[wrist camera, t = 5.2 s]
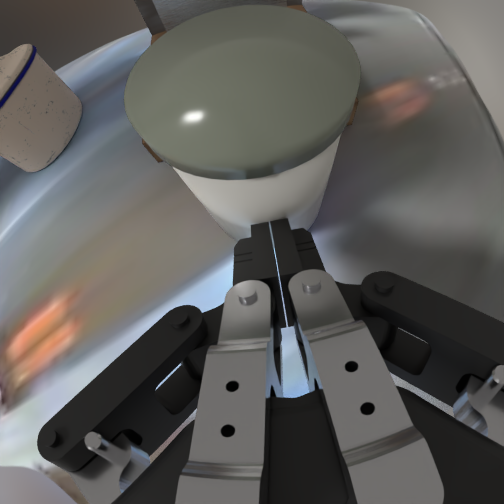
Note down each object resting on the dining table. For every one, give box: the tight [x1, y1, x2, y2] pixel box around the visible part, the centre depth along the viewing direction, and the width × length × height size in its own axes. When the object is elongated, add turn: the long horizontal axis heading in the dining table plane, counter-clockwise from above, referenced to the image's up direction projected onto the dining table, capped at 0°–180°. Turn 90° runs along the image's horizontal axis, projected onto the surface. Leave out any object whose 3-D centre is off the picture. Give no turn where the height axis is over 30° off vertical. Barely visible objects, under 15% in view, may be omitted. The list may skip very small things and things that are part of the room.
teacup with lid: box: [0, 44, 82, 172], centre depth 15 cm, size 12×9×12 cm
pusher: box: [152, 0, 287, 32], centre depth 15 cm, size 9×6×8 cm, turn 99°
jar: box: [124, 5, 361, 248], centre depth 11 cm, size 7×7×10 cm
